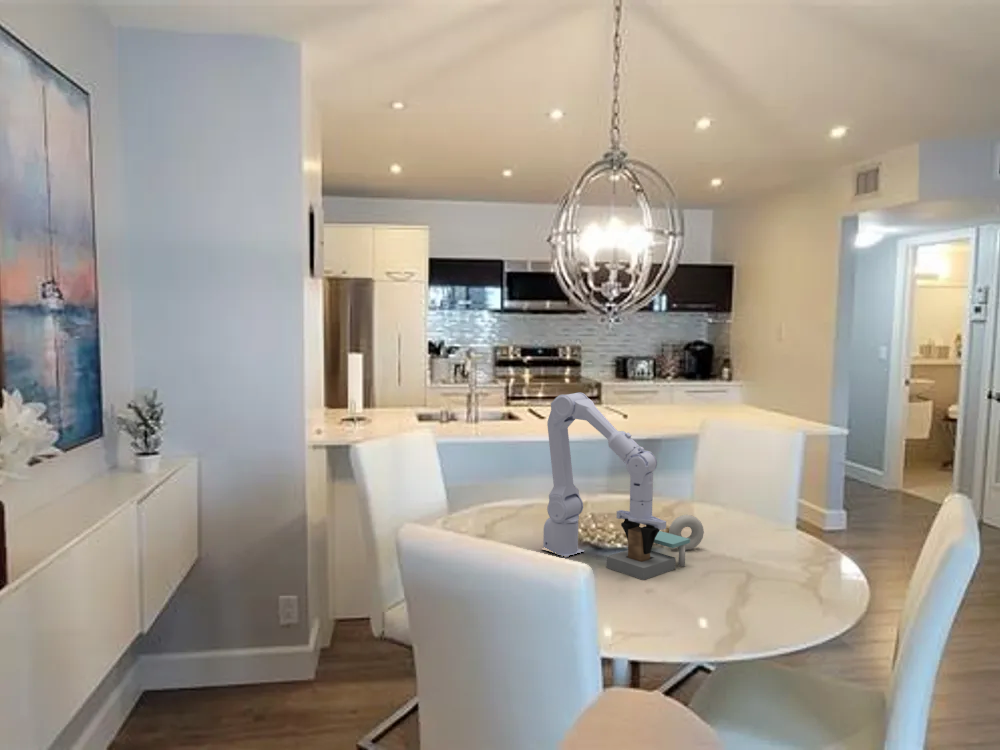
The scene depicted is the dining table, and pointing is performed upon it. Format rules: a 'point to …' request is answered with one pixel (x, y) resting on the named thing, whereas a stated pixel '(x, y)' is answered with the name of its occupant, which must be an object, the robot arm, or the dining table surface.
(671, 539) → the teal mini table
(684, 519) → the donut
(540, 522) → the dining table surface
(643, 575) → the socket block
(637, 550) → the peg
